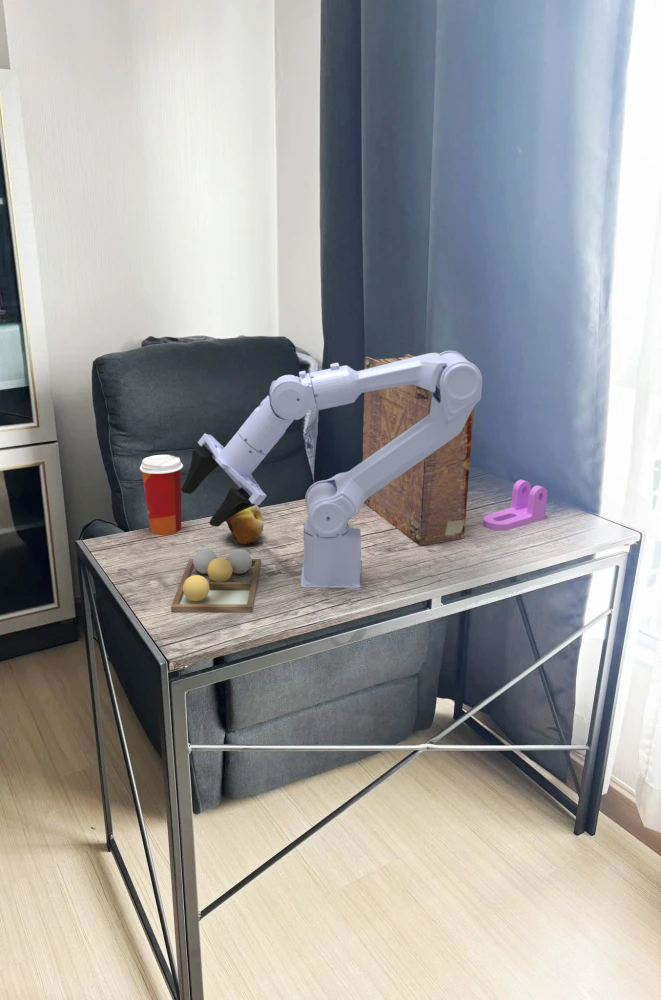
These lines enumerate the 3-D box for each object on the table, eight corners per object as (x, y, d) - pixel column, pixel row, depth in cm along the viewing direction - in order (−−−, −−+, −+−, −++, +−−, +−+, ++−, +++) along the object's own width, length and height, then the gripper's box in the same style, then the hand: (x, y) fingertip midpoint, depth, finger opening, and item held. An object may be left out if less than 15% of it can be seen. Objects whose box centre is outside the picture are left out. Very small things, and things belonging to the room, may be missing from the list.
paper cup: (168, 520, 155) (163, 451, 150) (195, 530, 151) (191, 459, 146) (135, 532, 150) (129, 460, 145) (162, 543, 145) (157, 469, 140)
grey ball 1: (219, 567, 134) (218, 545, 133) (216, 577, 131) (215, 555, 129) (195, 567, 134) (194, 545, 133) (192, 577, 131) (190, 555, 129)
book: (361, 501, 166) (364, 356, 156) (400, 495, 170) (406, 353, 159) (420, 546, 144) (428, 381, 134) (464, 539, 148) (476, 377, 137)
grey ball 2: (253, 567, 134) (252, 545, 133) (251, 578, 131) (250, 555, 129) (229, 567, 134) (228, 545, 133) (226, 577, 131) (225, 555, 129)
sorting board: (260, 567, 136) (260, 557, 135) (252, 615, 120) (251, 605, 119) (189, 566, 136) (189, 557, 135) (171, 615, 120) (170, 605, 119)
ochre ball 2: (234, 576, 131) (233, 553, 130) (231, 587, 128) (230, 564, 126) (209, 575, 131) (208, 553, 130) (206, 586, 128) (205, 564, 126)
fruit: (243, 555, 140) (242, 512, 138) (212, 542, 145) (210, 501, 143) (274, 542, 146) (273, 501, 143) (242, 530, 151) (241, 490, 148)
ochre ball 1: (211, 593, 125) (210, 570, 124) (208, 606, 121) (206, 582, 120) (186, 593, 125) (184, 570, 124) (181, 605, 121) (180, 582, 120)
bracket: (523, 510, 162) (526, 478, 159) (544, 519, 158) (548, 485, 155) (476, 524, 155) (479, 490, 152) (497, 533, 151) (500, 498, 148)
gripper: (210, 407, 122) (158, 474, 125) (267, 469, 116) (211, 538, 119) (235, 416, 128) (185, 480, 131) (291, 476, 123) (237, 540, 126)
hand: (199, 508), depth 126 cm, fingers open, 7 cm apart
